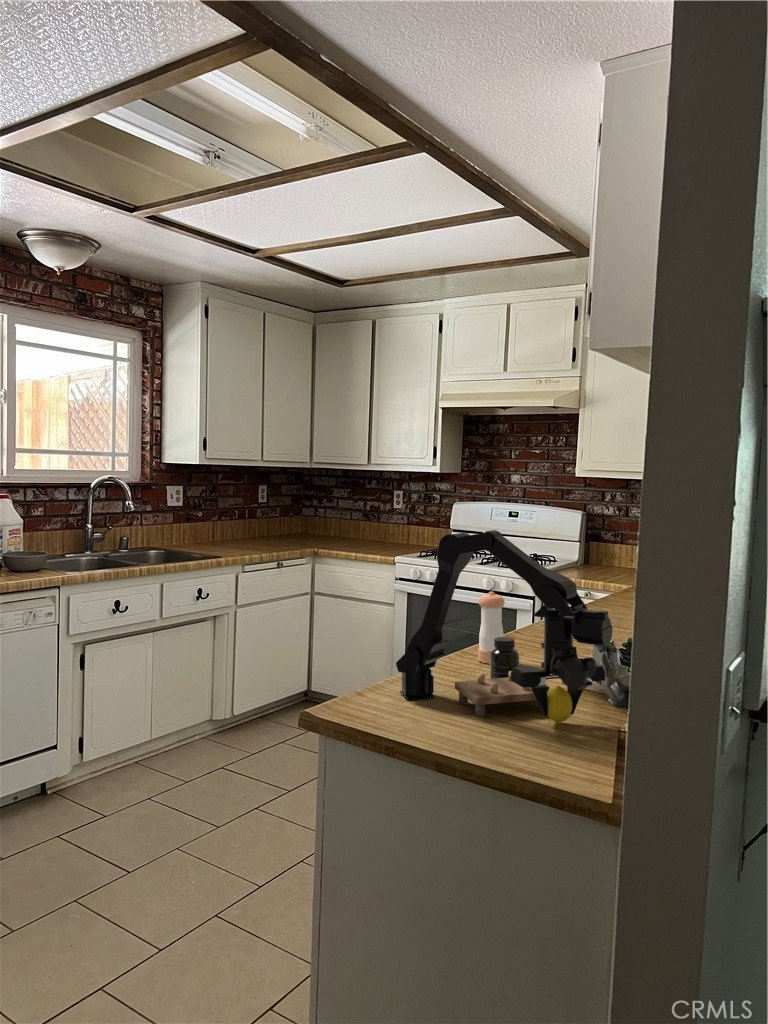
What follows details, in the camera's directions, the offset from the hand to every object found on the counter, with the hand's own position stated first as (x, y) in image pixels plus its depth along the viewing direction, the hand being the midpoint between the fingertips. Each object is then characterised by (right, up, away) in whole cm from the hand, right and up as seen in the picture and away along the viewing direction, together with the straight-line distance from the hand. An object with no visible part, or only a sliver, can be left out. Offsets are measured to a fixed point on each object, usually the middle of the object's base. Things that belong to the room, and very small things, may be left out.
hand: (558, 715), depth 157 cm
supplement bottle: (-7, -1, +26) cm, 27 cm away
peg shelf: (-9, -1, +12) cm, 15 cm away
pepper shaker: (-6, +1, +52) cm, 53 cm away
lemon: (0, -2, 0) cm, 2 cm away
